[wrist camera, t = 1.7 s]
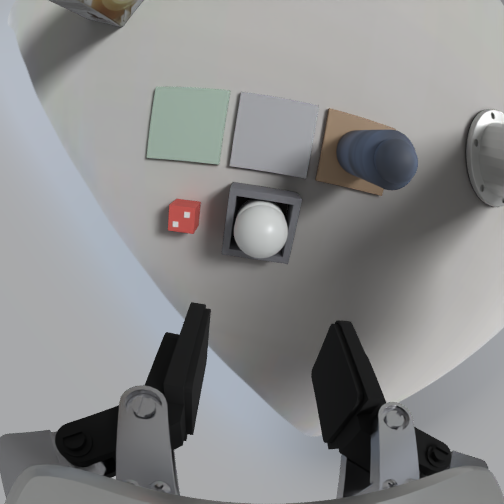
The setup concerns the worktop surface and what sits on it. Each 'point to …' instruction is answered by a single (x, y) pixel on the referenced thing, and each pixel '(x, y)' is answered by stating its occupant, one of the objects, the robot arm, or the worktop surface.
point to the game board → (249, 149)
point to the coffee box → (102, 9)
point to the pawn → (378, 157)
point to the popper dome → (260, 228)
